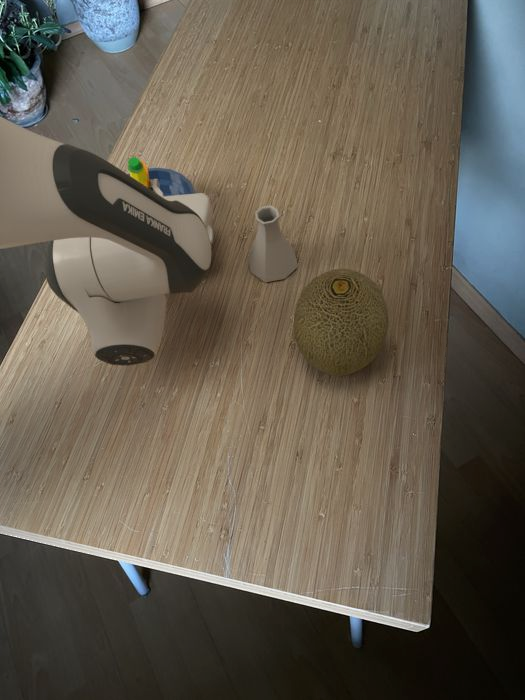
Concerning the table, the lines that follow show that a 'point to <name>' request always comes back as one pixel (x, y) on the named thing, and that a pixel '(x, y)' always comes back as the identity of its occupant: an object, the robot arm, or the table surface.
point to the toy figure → (138, 171)
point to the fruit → (340, 321)
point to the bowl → (171, 181)
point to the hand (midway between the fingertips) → (143, 183)
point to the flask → (271, 248)
